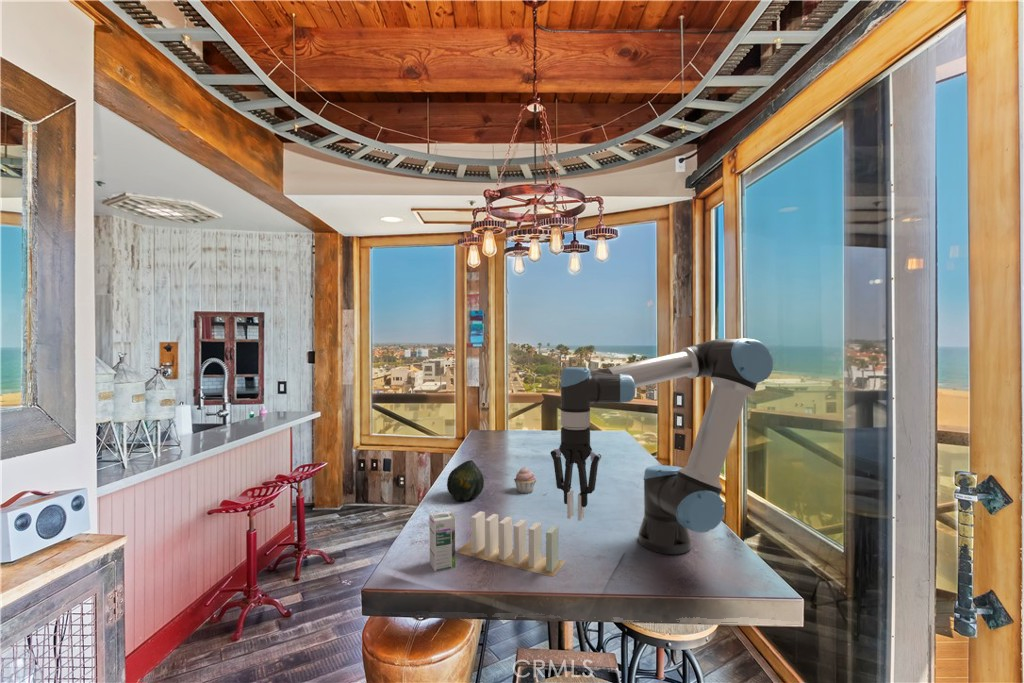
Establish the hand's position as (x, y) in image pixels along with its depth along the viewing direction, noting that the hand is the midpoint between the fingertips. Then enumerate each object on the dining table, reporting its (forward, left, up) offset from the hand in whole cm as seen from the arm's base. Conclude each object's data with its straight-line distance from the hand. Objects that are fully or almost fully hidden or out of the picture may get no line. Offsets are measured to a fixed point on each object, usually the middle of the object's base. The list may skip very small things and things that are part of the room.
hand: (575, 517), depth 116 cm
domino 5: (+12, 0, -14) cm, 18 cm away
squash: (+59, -38, -16) cm, 72 cm away
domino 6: (+7, 0, -14) cm, 16 cm away
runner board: (+20, 0, -15) cm, 25 cm away
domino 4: (+16, 0, -14) cm, 21 cm away
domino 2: (+25, 0, -14) cm, 29 cm away
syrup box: (+34, +12, -16) cm, 39 cm away
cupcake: (+41, -55, -16) cm, 70 cm away
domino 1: (+30, 0, -14) cm, 33 cm away
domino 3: (+21, 0, -14) cm, 25 cm away
